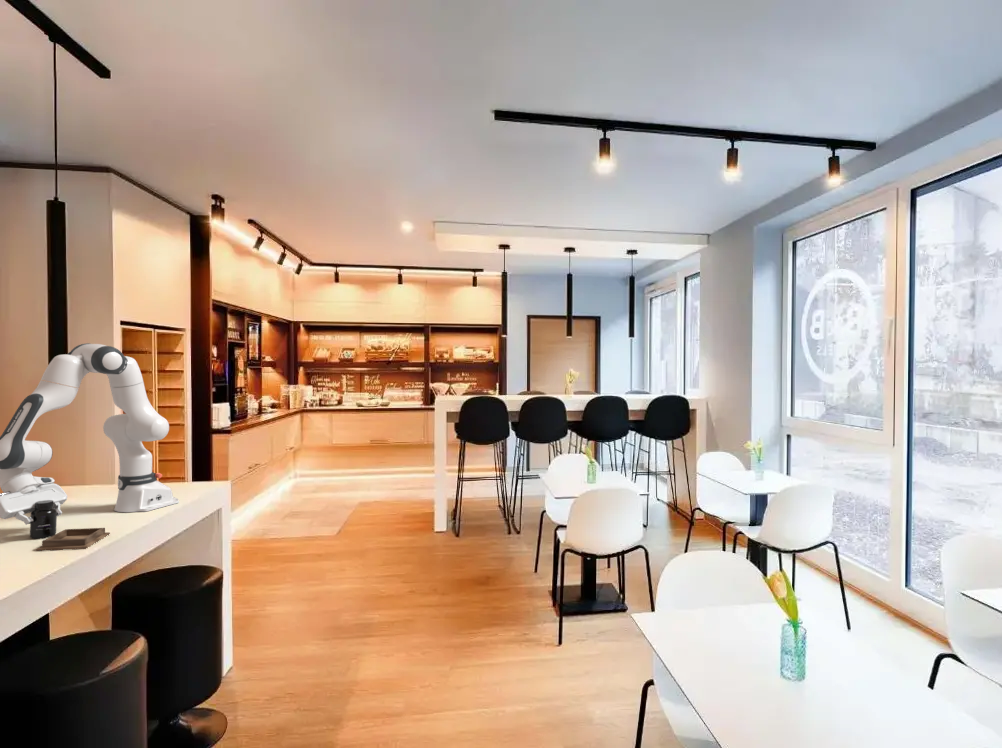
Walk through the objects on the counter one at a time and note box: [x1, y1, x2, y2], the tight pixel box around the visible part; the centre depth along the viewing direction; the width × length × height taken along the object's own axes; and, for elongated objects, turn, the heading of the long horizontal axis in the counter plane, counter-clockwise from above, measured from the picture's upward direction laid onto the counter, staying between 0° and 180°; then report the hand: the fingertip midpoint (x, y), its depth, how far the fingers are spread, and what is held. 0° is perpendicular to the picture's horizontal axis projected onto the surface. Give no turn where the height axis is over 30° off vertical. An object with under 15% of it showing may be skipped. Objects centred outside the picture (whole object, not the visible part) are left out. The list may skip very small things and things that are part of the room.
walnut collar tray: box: [35, 527, 111, 552], centre depth 171 cm, size 14×14×3 cm
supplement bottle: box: [29, 500, 58, 540], centre depth 176 cm, size 7×7×12 cm
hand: (44, 518), depth 176 cm, fingers open, 8 cm apart
